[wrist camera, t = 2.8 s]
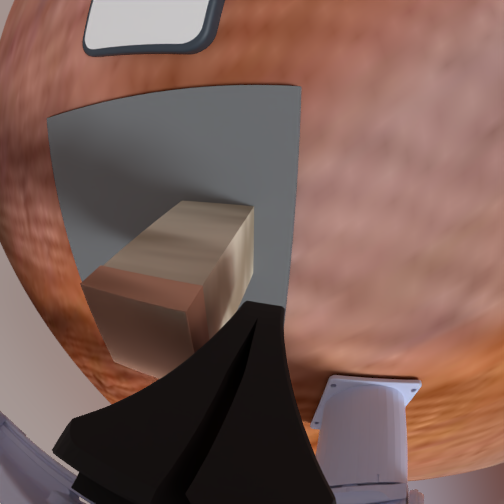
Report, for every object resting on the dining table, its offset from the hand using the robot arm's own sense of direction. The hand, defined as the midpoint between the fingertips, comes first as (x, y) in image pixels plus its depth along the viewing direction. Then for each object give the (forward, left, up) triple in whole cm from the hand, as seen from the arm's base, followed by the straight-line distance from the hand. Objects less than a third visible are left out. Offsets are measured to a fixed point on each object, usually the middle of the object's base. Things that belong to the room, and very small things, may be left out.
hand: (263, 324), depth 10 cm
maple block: (0, +4, -6) cm, 7 cm away
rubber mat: (0, +8, -6) cm, 10 cm away
